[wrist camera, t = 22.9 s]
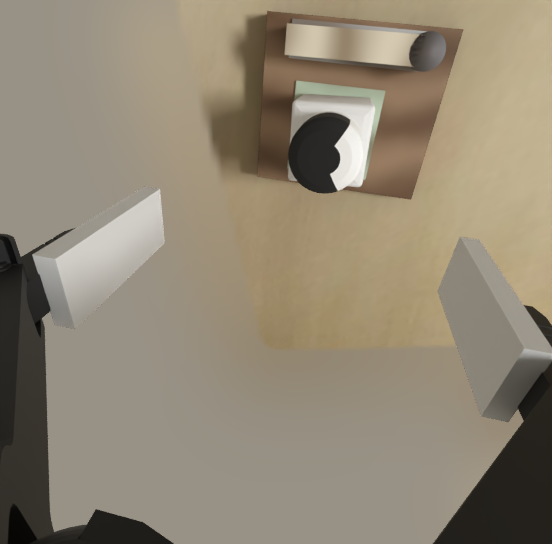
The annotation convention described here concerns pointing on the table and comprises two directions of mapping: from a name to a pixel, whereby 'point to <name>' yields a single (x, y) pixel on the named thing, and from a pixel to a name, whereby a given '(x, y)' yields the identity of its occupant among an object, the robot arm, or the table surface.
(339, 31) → the folding leg
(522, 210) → the table surface
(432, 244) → the table surface
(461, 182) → the table surface
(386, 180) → the brown wooden board
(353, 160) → the medicine bottle
